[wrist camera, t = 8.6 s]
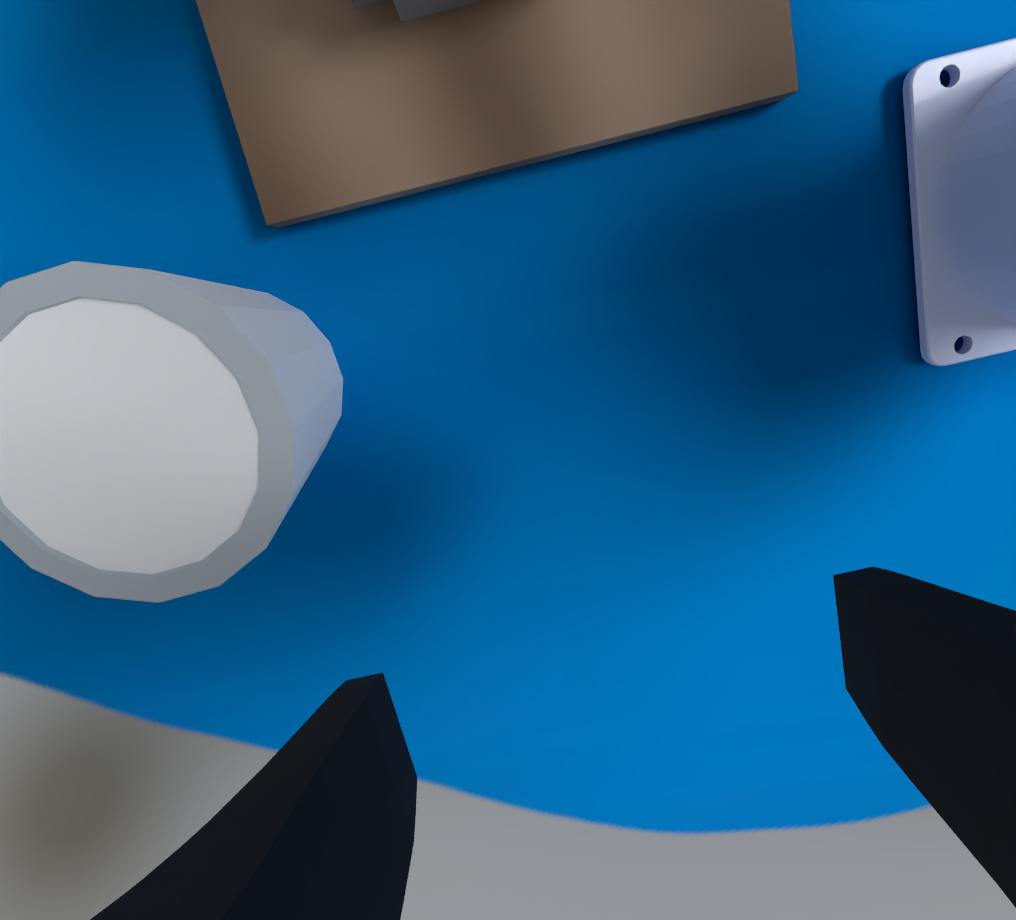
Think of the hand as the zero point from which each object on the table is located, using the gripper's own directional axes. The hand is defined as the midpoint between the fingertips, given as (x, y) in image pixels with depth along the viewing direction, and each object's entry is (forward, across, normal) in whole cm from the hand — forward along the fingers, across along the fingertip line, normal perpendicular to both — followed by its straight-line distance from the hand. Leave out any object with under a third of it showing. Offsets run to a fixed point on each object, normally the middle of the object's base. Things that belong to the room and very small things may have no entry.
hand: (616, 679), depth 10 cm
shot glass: (+11, +8, -5) cm, 14 cm away
